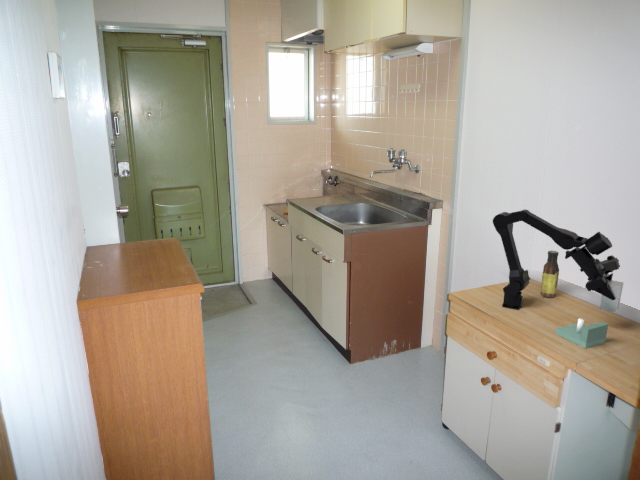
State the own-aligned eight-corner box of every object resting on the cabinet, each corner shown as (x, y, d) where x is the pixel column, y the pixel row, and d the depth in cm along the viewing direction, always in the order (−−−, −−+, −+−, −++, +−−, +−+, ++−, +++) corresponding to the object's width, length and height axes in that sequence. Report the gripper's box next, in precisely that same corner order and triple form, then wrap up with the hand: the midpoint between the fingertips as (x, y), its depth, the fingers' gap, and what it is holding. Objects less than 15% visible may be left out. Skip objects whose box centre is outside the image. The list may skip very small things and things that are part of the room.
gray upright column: (599, 308, 170) (604, 283, 168) (602, 304, 174) (607, 279, 171) (616, 312, 167) (621, 286, 164) (618, 308, 171) (623, 282, 168)
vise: (555, 333, 170) (557, 315, 168) (574, 328, 174) (577, 311, 172) (585, 348, 159) (588, 329, 157) (605, 342, 163) (608, 324, 161)
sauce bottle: (557, 298, 201) (564, 254, 196) (541, 297, 202) (547, 253, 197) (553, 293, 207) (559, 250, 202) (538, 292, 209) (544, 249, 203)
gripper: (601, 256, 160) (633, 294, 157) (611, 244, 174) (641, 279, 170) (572, 272, 167) (602, 309, 164) (584, 260, 181) (612, 294, 177)
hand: (615, 297), depth 169 cm, fingers closed on gray upright column, 5 cm apart
